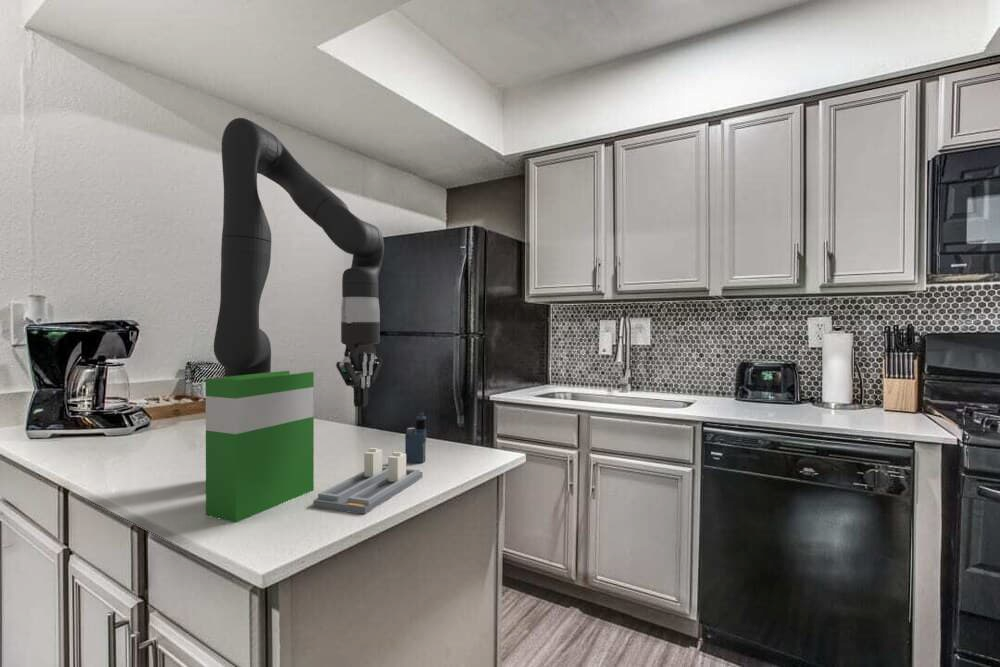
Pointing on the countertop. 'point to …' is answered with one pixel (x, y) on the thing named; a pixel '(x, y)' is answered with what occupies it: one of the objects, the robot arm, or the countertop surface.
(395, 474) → the tab
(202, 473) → the countertop surface
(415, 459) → the vaping device
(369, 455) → the tab
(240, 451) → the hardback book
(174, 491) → the countertop surface
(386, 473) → the switch board
